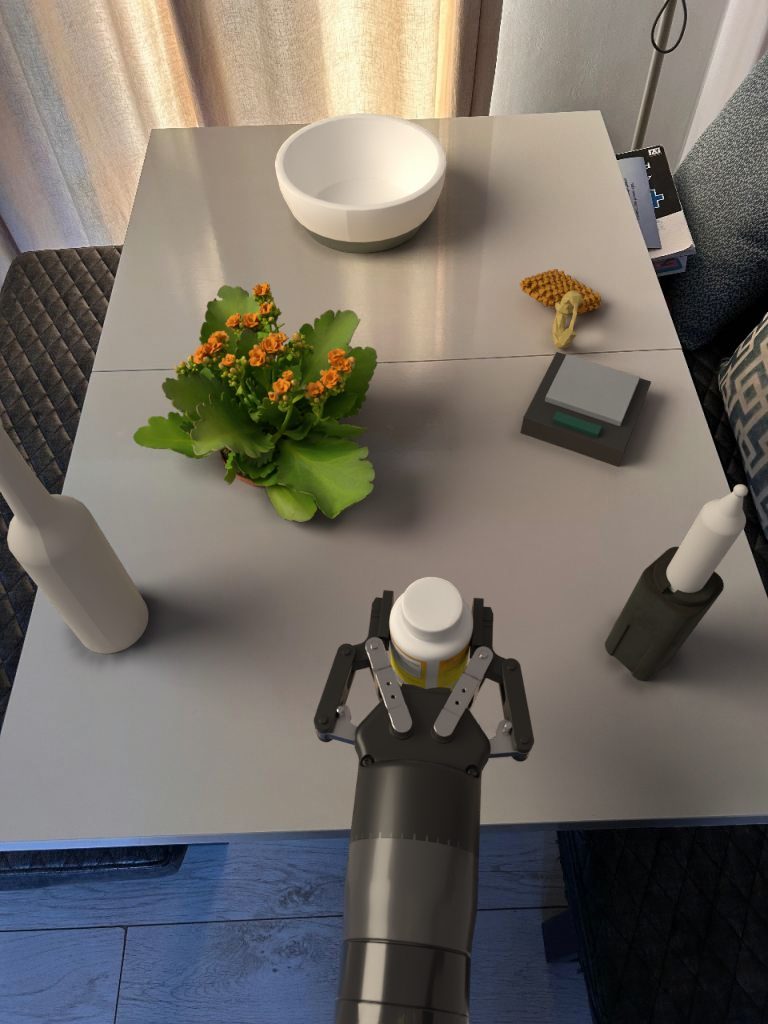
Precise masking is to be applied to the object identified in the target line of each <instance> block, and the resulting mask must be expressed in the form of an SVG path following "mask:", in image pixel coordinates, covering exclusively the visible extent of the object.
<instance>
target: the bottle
mask: <svg viewBox="0 0 768 1024" xmlns="http://www.w3.org/2000/svg"><path fill="white" fill-rule="evenodd" d="M3 424H4V423H3V420H2V418H1V417H0V493H1V496H3V499H4V500H5V502H6V503H7V505H8V506H9V508H10V510H11V512H12V513H13V517H12V519H11V520H10V522H9V526H8V531H7V537H6V541H7V545H8V550H9V551H10V553H11V554H12V555H13V556H14V558H15V559H16V560H17V562H18V563H19V564H20V565H21V567H22V568H23V570H24V571H25V572H26V573H27V574H28V576H29V577H30V579H31V580H32V581H33V582H34V583H35V586H37V587H38V588H39V590H40V591H41V592H42V594H43V595H44V597H46V599H47V600H48V601H49V603H50V604H51V605H52V607H53V608H54V609H55V610H56V612H57V613H58V614H59V616H60V617H61V618H62V619H63V621H64V622H65V623H66V625H67V626H68V628H70V630H71V631H72V632H73V633H74V635H75V636H76V637H77V638H78V640H80V642H81V644H83V646H84V647H85V648H86V649H88V650H90V651H92V652H94V653H98V654H103V655H104V654H105V655H106V654H108V655H109V654H115V653H119V652H122V651H124V650H126V649H128V648H130V647H131V646H132V645H134V644H135V643H136V642H137V641H138V640H139V639H140V638H141V637H142V636H143V634H144V632H145V631H146V630H147V626H148V623H149V616H150V615H149V613H150V612H149V609H148V606H147V603H146V601H145V600H144V599H143V597H142V594H141V593H140V591H139V589H138V588H137V586H136V585H135V583H134V581H133V579H132V577H131V576H130V574H129V573H128V571H127V570H126V568H125V567H124V564H123V563H122V562H121V560H120V558H119V557H118V555H117V553H116V552H115V550H114V549H113V547H112V545H111V544H110V542H109V540H108V538H107V537H106V536H105V533H104V532H103V530H102V529H101V527H100V526H99V524H98V522H97V521H96V519H95V517H94V515H93V514H92V512H91V510H90V509H88V508H87V507H88V506H86V505H85V504H84V503H83V501H80V500H79V499H77V498H75V497H73V496H69V495H65V494H58V493H55V494H51V493H50V492H49V491H48V489H47V488H46V487H45V485H43V483H42V482H41V481H40V479H39V478H38V477H37V476H36V474H35V473H34V472H33V470H32V469H31V468H30V466H29V463H27V461H26V460H25V458H24V457H23V455H22V454H21V452H20V451H19V449H18V448H17V446H16V444H14V442H13V441H12V439H11V438H10V436H9V434H8V433H7V431H6V430H5V428H4V427H3Z"/></svg>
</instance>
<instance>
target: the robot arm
mask: <svg viewBox="0 0 768 1024" xmlns="http://www.w3.org/2000/svg"><path fill="white" fill-rule="evenodd" d="M394 593H395V592H394V590H388V589H383V591H382V597H374V599H373V601H372V602H371V607H370V610H371V611H370V617H369V625H368V633H367V636H366V639H365V640H364V641H362V642H360V643H357V644H351V643H347V642H346V643H342V644H341V645H339V646H338V648H337V650H336V654H335V656H334V659H333V662H332V664H331V668H330V670H329V673H328V676H327V679H326V682H325V684H324V688H323V690H322V694H321V697H320V700H319V702H318V705H317V708H316V710H315V714H314V717H313V725H314V730H315V734H316V736H317V738H318V740H319V741H321V742H322V743H329V742H330V743H331V741H333V740H334V741H338V742H341V743H345V744H348V745H352V746H354V750H355V752H356V755H357V758H358V767H357V775H356V777H357V778H356V785H355V792H354V799H353V800H354V801H353V807H352V815H351V817H352V818H351V825H350V833H349V842H348V851H347V858H346V863H345V874H344V875H345V876H344V883H343V893H342V938H341V940H342V942H343V943H341V947H340V955H339V963H338V972H337V980H336V989H335V997H334V998H335V1000H334V1007H333V1017H332V1024H470V1016H469V1015H470V1007H471V1006H470V1004H471V1003H470V1002H471V1000H470V999H471V977H472V976H471V975H472V973H471V971H472V968H471V967H472V958H471V956H472V953H473V941H474V935H475V934H474V933H475V928H476V923H477V914H478V903H479V883H480V876H479V872H480V871H479V870H480V869H479V868H480V861H479V860H480V840H481V836H480V835H481V806H482V777H483V771H484V769H485V767H486V765H487V763H488V762H489V760H490V759H498V758H499V759H500V758H510V757H511V758H512V759H513V760H514V761H515V762H519V763H522V762H524V761H526V760H528V758H529V756H530V754H531V751H532V749H533V746H534V745H535V736H534V731H533V726H532V721H531V714H530V709H529V704H528V703H529V702H528V699H527V692H526V687H525V683H524V678H523V677H524V676H523V672H522V667H521V663H520V662H519V660H517V659H515V658H512V657H508V658H505V657H503V656H501V655H498V653H496V652H495V649H494V647H493V641H494V640H493V639H494V612H493V609H492V607H491V606H485V599H484V598H483V597H482V598H481V597H473V600H472V604H471V605H472V606H471V612H472V617H473V631H472V637H471V643H470V649H469V662H467V667H466V669H465V671H464V672H463V673H462V674H461V676H460V678H459V680H458V682H457V684H456V685H455V687H454V689H453V691H452V692H451V691H450V688H444V687H436V688H429V689H424V688H421V687H419V686H416V685H410V684H402V687H399V684H398V681H397V678H396V675H395V672H394V670H393V667H392V666H391V660H390V659H389V655H388V652H389V651H390V628H389V621H390V614H391V610H392V607H393V605H394V604H395V595H394ZM365 669H368V671H369V673H370V676H371V679H372V682H373V685H374V689H375V690H374V691H375V693H376V696H377V699H378V703H377V705H375V707H374V708H373V709H372V710H371V711H370V712H369V713H368V714H367V715H366V716H365V718H363V720H361V722H360V723H359V724H358V725H357V726H356V725H354V724H353V723H352V714H351V713H352V712H351V709H350V708H349V706H348V705H346V704H347V700H348V698H349V695H350V691H351V688H352V685H353V682H354V679H355V676H356V674H357V671H360V670H365ZM486 680H489V681H492V682H494V683H495V684H496V683H497V684H498V689H499V696H500V701H501V707H502V713H503V719H502V720H500V721H499V723H498V724H497V727H496V731H495V736H493V737H492V738H488V736H487V734H486V733H485V731H484V729H483V728H482V727H481V724H479V722H478V721H477V719H476V718H475V716H474V715H473V713H472V712H471V710H472V709H473V706H474V705H475V702H476V700H477V698H478V695H479V693H480V691H481V689H482V688H483V685H484V683H485V682H486Z"/></svg>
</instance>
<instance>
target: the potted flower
mask: <svg viewBox="0 0 768 1024" xmlns="http://www.w3.org/2000/svg"><path fill="white" fill-rule="evenodd" d="M251 288H252V294H251V295H250V293H249V291H248V290H245V289H243V288H242V287H241V286H240V285H239V286H237V285H236V286H234V287H232V286H231V285H228V284H223V285H222V286H220V287H219V289H218V291H217V294H216V296H217V297H218V298H219V299H220V300H218V299H217V298H216V297H215V298H213V300H209V301H207V304H206V309H207V310H206V311H205V313H204V320H205V321H204V322H202V323H201V327H200V331H199V334H200V336H199V337H198V341H200V344H199V346H197V347H196V350H195V352H194V353H193V354H190V355H189V356H187V362H186V361H184V360H181V361H180V362H179V363H180V364H178V365H174V367H173V370H174V372H175V373H176V379H175V378H174V377H171V378H170V377H165V378H164V381H163V382H162V384H161V389H162V392H163V393H164V397H165V398H166V399H168V400H169V401H171V402H170V405H171V406H172V407H173V408H175V409H176V410H177V411H178V412H177V411H176V412H174V411H168V413H167V418H166V417H164V416H161V415H156V416H150V417H149V418H148V419H147V425H143V426H141V427H138V428H137V430H136V431H135V432H134V433H133V436H132V439H133V441H134V442H135V443H136V444H137V445H138V446H140V447H145V448H149V449H153V450H170V451H173V452H175V453H178V454H180V455H184V456H185V457H187V458H189V459H194V460H200V459H203V458H206V457H208V455H212V454H213V452H218V453H220V457H221V460H222V462H223V464H224V465H225V466H224V468H225V469H226V473H225V475H224V476H223V480H224V481H225V482H226V483H227V486H229V485H232V484H233V483H234V481H235V478H236V479H239V480H240V481H242V482H244V483H246V484H248V485H250V486H253V487H261V488H262V487H264V488H265V491H266V494H267V495H268V498H269V500H270V502H271V504H272V506H273V508H274V509H275V511H276V513H277V514H278V515H279V516H280V517H281V518H282V519H283V520H284V521H289V522H294V521H296V522H301V523H304V522H307V521H310V520H311V519H313V517H314V516H315V514H316V512H317V511H318V509H319V510H321V512H322V513H323V515H325V516H326V517H328V518H329V519H335V518H336V517H337V516H339V515H340V514H341V513H342V512H343V511H344V510H346V509H348V508H349V507H352V506H353V505H355V504H358V503H359V502H361V501H363V500H365V499H366V498H367V497H368V496H369V495H370V494H371V493H373V490H374V487H375V485H374V484H373V483H372V482H373V481H374V480H375V478H376V473H375V469H374V468H373V467H374V464H373V463H372V462H371V461H369V460H367V458H368V456H369V447H368V446H363V447H362V446H361V447H360V444H359V443H358V442H355V441H353V440H350V439H352V438H357V439H358V438H361V437H363V436H364V435H363V434H362V433H364V432H365V431H368V430H369V428H368V427H367V426H363V427H361V426H358V425H353V424H350V423H345V424H343V423H342V424H341V423H340V421H341V419H342V418H343V419H348V418H352V417H356V416H357V415H359V410H362V409H363V403H364V402H366V400H367V395H366V393H368V390H369V389H370V382H371V381H372V379H373V377H374V375H375V370H376V368H377V366H378V361H377V359H378V354H377V349H375V348H373V347H371V346H368V345H367V346H365V347H364V348H363V347H362V346H355V347H352V346H351V345H350V343H351V341H352V339H353V337H354V334H355V331H356V330H357V328H358V327H359V325H360V322H361V318H359V317H358V314H356V312H355V311H353V310H350V309H345V310H343V311H341V309H337V310H336V312H335V311H334V310H332V309H327V310H326V311H324V312H323V313H321V314H320V316H319V317H315V318H314V320H313V325H312V324H310V323H308V322H305V323H303V324H302V325H301V327H300V328H299V329H298V331H294V332H293V335H292V336H291V339H290V337H288V336H287V334H286V333H284V332H282V331H280V330H279V329H280V328H281V327H283V326H284V325H285V322H282V323H280V324H278V323H277V321H278V319H279V316H281V315H282V314H283V313H282V311H281V309H280V307H277V306H276V302H275V300H274V299H275V298H274V297H273V293H272V291H271V284H270V283H267V282H266V281H265V282H262V283H261V284H259V283H258V284H255V285H254V287H251ZM272 325H273V326H274V329H273V327H272ZM287 341H288V343H286V342H287ZM284 343H285V344H284ZM179 412H180V413H182V415H181V414H180V413H179Z"/></svg>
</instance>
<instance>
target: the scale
mask: <svg viewBox="0 0 768 1024" xmlns="http://www.w3.org/2000/svg"><path fill="white" fill-rule="evenodd" d="M651 384H652V381H651V380H648V379H645V378H642V377H641V376H638V375H635V374H632V373H630V372H626V371H622V370H620V369H617V368H613V367H610V366H607V365H603V364H600V363H597V362H595V361H591V360H588V359H584V358H581V357H578V356H575V355H571V354H568V353H566V354H565V353H563V352H559V351H556V352H555V354H554V355H553V358H552V360H551V362H550V364H549V366H548V368H547V370H546V372H545V374H544V376H543V378H542V379H541V382H540V383H539V386H538V388H537V389H536V392H535V394H534V396H533V398H532V400H531V401H530V403H529V405H528V408H527V410H526V412H525V413H524V415H523V418H522V423H521V428H520V434H523V435H525V436H528V437H531V438H534V439H537V440H540V441H543V442H545V443H549V444H552V445H555V446H557V447H560V448H563V449H567V450H569V451H572V452H575V453H577V454H581V455H583V456H586V457H589V458H591V459H595V460H598V461H600V462H603V463H606V464H609V465H612V466H615V467H619V465H620V463H621V460H622V458H623V455H624V452H625V450H626V447H627V444H628V442H629V441H630V440H629V439H630V438H631V435H632V432H633V430H634V427H635V425H636V422H637V420H638V417H639V414H640V413H641V409H642V407H643V404H644V402H645V400H646V396H647V395H648V392H649V389H650V386H651Z"/></svg>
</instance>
